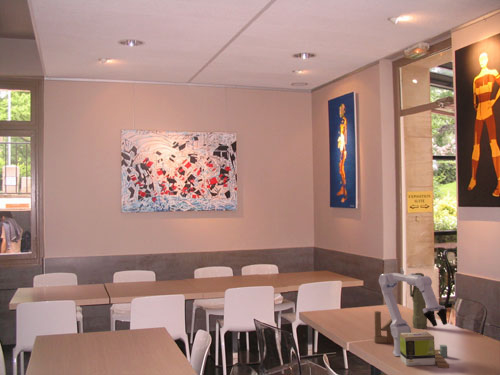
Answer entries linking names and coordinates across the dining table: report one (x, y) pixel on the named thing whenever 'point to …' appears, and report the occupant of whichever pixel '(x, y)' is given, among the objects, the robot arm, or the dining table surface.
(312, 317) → the dining table surface
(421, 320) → the thermos
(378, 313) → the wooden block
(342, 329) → the dining table surface
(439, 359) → the walnut board
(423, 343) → the tea box
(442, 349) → the grey-green block
